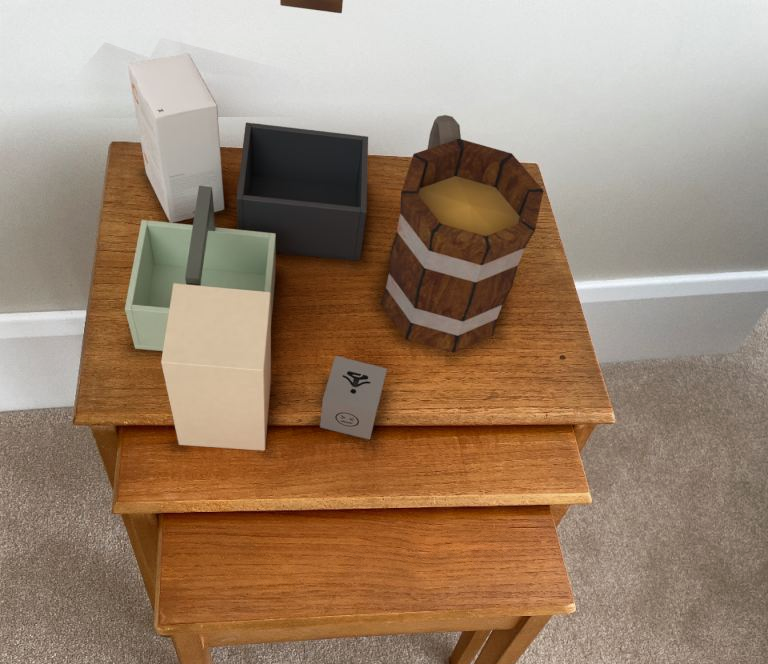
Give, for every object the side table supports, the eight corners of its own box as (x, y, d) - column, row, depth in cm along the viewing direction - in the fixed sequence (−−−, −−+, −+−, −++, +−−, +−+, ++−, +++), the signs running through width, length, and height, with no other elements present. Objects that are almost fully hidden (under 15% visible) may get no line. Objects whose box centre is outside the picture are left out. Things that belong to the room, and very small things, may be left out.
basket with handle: (134, 349, 77) (114, 270, 67) (150, 263, 81) (133, 178, 72) (268, 360, 78) (267, 285, 68) (275, 275, 83) (276, 193, 73)
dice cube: (380, 398, 78) (387, 368, 74) (370, 439, 76) (376, 412, 71) (331, 385, 78) (335, 355, 73) (319, 427, 76) (322, 398, 71)
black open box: (239, 249, 84) (236, 198, 77) (247, 175, 88) (245, 122, 82) (359, 261, 85) (366, 212, 79) (361, 188, 90) (368, 136, 84)
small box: (226, 211, 86) (218, 105, 74) (169, 225, 84) (153, 118, 72) (199, 160, 89) (188, 51, 77) (144, 172, 87) (125, 62, 75)
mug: (514, 349, 83) (561, 246, 69) (390, 355, 80) (413, 250, 67) (477, 211, 91) (512, 95, 77) (363, 213, 88) (379, 93, 75)
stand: (178, 445, 73) (160, 362, 61) (188, 374, 76) (173, 282, 65) (265, 451, 74) (263, 370, 62) (270, 380, 77) (270, 291, 66)
